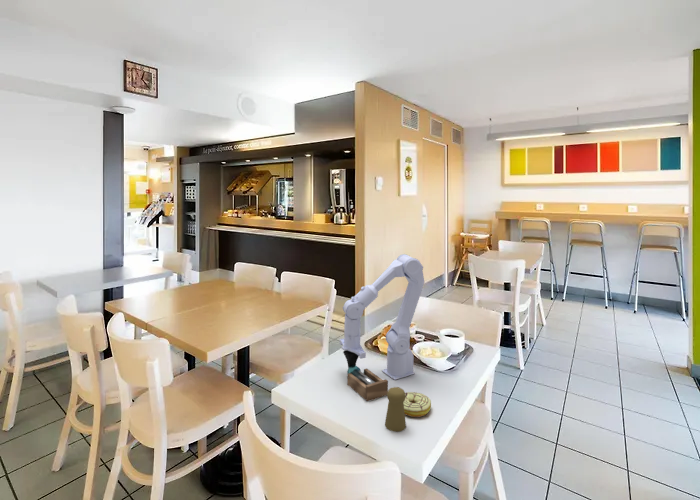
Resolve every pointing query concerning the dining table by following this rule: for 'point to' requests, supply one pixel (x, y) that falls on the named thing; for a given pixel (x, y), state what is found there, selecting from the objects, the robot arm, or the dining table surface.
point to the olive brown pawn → (395, 410)
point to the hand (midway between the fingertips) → (351, 369)
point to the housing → (368, 386)
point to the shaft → (359, 375)
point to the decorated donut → (416, 404)
